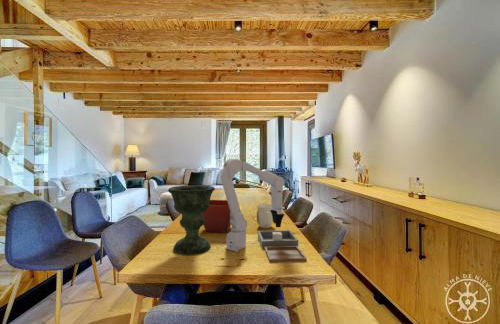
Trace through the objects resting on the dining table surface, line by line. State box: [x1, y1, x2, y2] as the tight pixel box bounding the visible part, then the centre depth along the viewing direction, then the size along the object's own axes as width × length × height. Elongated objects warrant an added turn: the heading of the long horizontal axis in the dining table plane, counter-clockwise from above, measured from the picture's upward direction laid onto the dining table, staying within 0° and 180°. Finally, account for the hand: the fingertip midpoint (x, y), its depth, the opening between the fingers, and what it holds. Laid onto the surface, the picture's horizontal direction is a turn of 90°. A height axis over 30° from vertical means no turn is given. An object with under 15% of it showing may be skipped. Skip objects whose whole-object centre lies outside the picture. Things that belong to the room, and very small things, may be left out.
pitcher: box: [256, 202, 274, 229], centre depth 174 cm, size 11×18×14 cm, turn 8°
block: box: [272, 232, 282, 240], centre depth 143 cm, size 4×4×4 cm
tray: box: [264, 245, 308, 263], centre depth 124 cm, size 16×16×2 cm
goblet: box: [167, 184, 216, 256], centre depth 134 cm, size 22×23×30 cm
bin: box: [257, 229, 299, 249], centre depth 143 cm, size 18×18×4 cm
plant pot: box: [202, 199, 232, 233], centre depth 168 cm, size 19×19×17 cm
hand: (276, 225), depth 143 cm, fingers open, 7 cm apart
